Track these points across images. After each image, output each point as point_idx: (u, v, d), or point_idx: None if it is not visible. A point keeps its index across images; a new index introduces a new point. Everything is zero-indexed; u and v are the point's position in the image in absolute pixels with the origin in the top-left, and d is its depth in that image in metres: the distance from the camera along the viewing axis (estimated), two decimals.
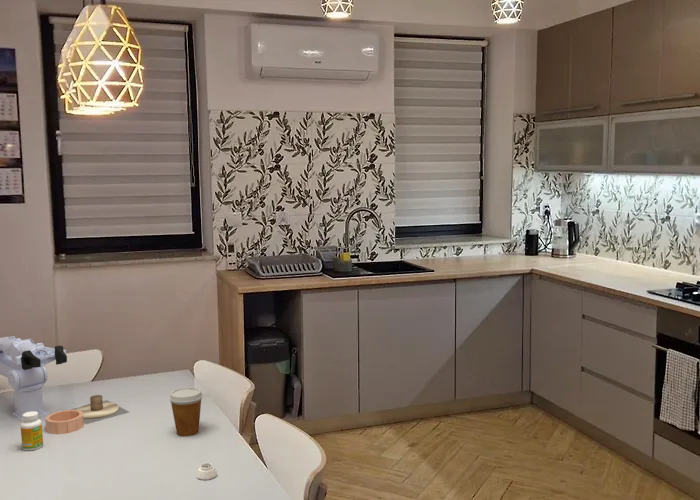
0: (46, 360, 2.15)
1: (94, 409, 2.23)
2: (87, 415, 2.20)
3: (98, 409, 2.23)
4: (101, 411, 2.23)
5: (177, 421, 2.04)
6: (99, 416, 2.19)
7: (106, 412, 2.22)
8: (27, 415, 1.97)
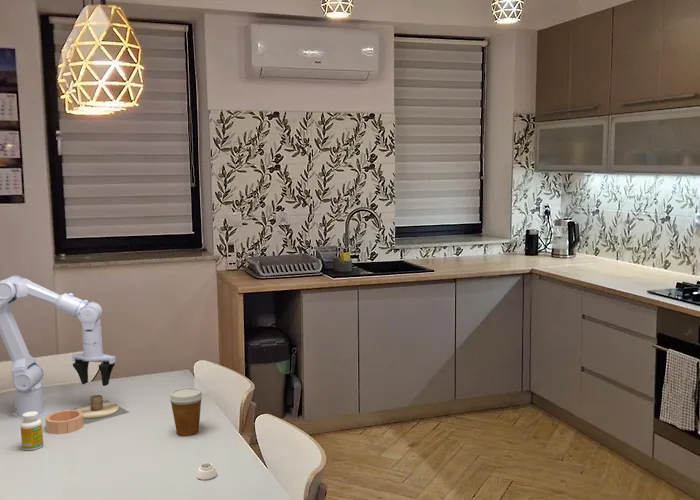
0: None
1: (94, 409, 2.23)
2: (87, 415, 2.20)
3: (98, 409, 2.23)
4: (101, 411, 2.23)
5: (177, 421, 2.04)
6: (99, 416, 2.19)
7: (106, 412, 2.22)
8: (27, 415, 1.97)
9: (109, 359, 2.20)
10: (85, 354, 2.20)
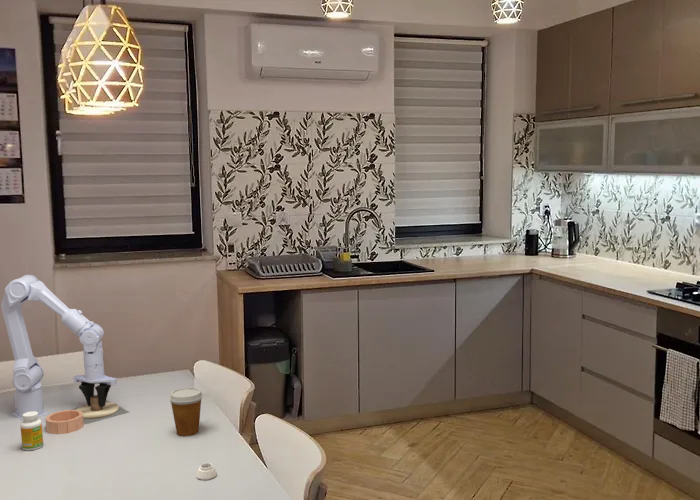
0: None
1: (94, 409, 2.23)
2: (87, 415, 2.20)
3: (98, 409, 2.23)
4: (101, 411, 2.23)
5: (177, 421, 2.04)
6: (99, 416, 2.19)
7: (106, 412, 2.22)
8: (27, 415, 1.97)
9: (110, 381, 2.21)
10: (87, 376, 2.21)
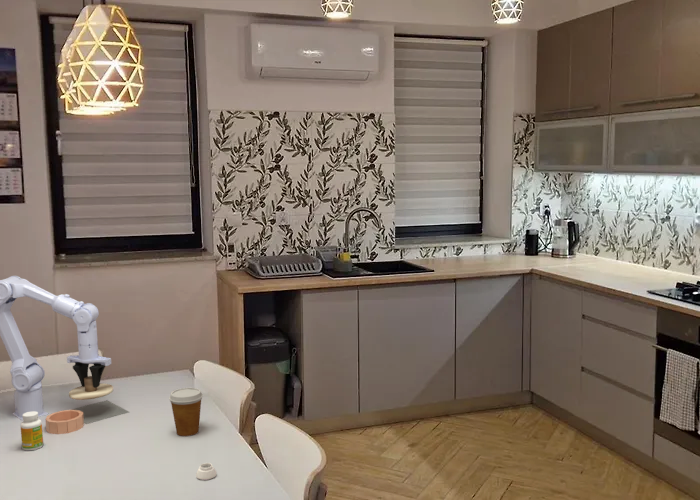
0: None
1: (88, 390, 2.20)
2: (81, 396, 2.17)
3: (92, 390, 2.21)
4: (95, 392, 2.20)
5: (177, 421, 2.04)
6: (93, 396, 2.17)
7: (100, 393, 2.19)
8: (27, 415, 1.97)
9: (105, 361, 2.18)
10: (80, 356, 2.18)
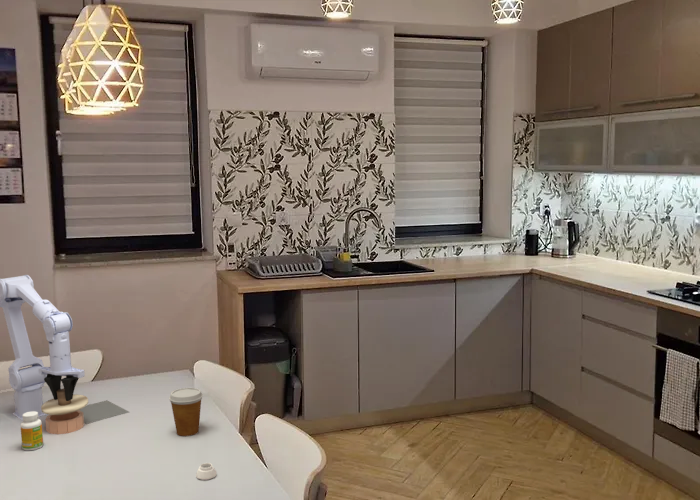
0: None
1: (61, 403, 2.10)
2: (53, 411, 2.06)
3: (66, 403, 2.10)
4: (69, 406, 2.10)
5: (177, 421, 2.04)
6: (66, 412, 2.06)
7: (74, 407, 2.09)
8: (27, 415, 1.97)
9: (77, 373, 2.07)
10: (52, 368, 2.07)
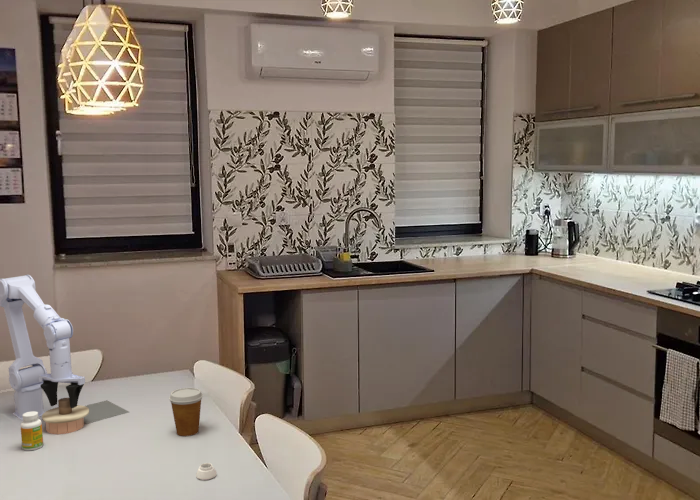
0: None
1: (62, 412, 2.10)
2: (54, 419, 2.07)
3: (66, 413, 2.11)
4: (69, 415, 2.10)
5: (177, 421, 2.04)
6: (66, 420, 2.06)
7: (74, 416, 2.09)
8: (27, 415, 1.97)
9: (78, 380, 2.07)
10: (52, 375, 2.08)
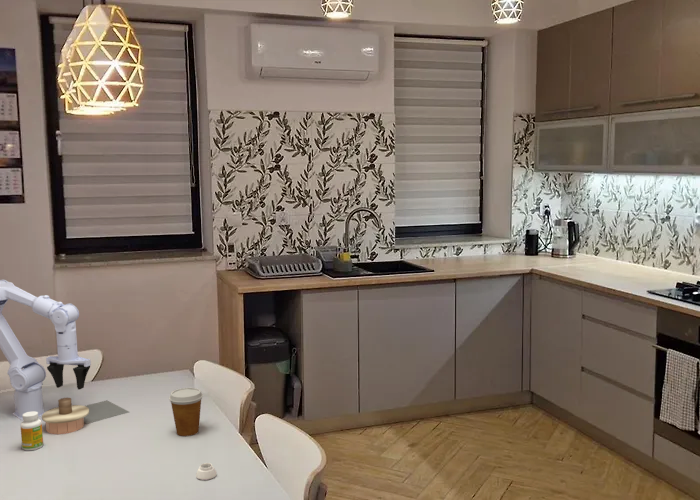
0: None
1: (62, 412, 2.10)
2: (54, 419, 2.07)
3: (66, 413, 2.11)
4: (69, 415, 2.10)
5: (177, 421, 2.04)
6: (66, 420, 2.06)
7: (74, 416, 2.09)
8: (27, 415, 1.97)
9: (84, 362, 2.16)
10: (59, 357, 2.16)
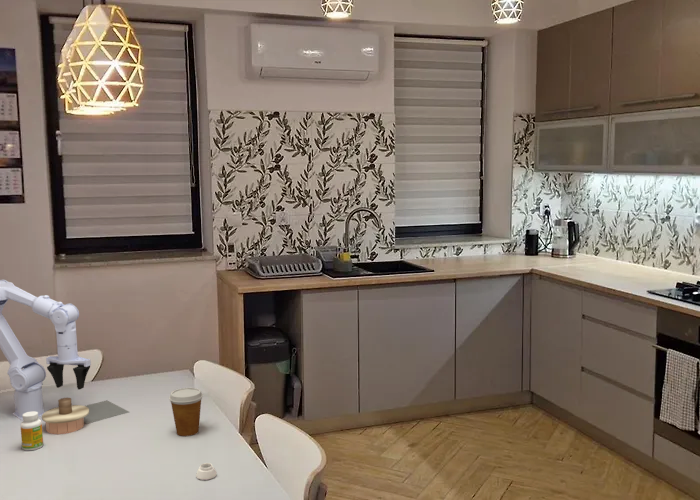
0: None
1: (62, 412, 2.10)
2: (54, 419, 2.07)
3: (66, 413, 2.11)
4: (69, 415, 2.10)
5: (177, 421, 2.04)
6: (66, 420, 2.06)
7: (74, 416, 2.09)
8: (27, 415, 1.97)
9: (84, 362, 2.16)
10: (59, 357, 2.16)
